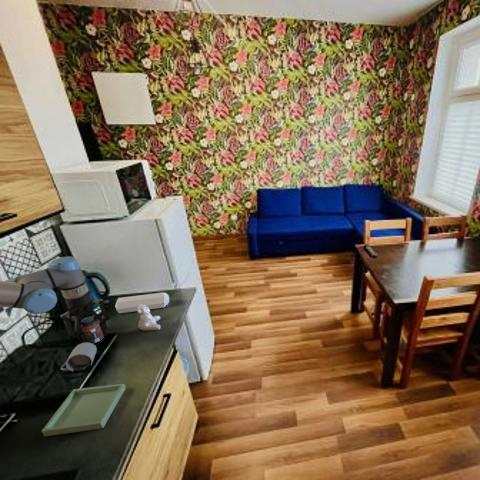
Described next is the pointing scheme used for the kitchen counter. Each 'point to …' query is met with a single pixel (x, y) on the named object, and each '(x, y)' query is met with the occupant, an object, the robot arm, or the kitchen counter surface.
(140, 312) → the sitting furry creature
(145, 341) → the kitchen counter surface
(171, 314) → the kitchen counter surface
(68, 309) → the robot arm
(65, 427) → the bottle tray
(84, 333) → the supplement bottle
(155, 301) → the white rounded cylinder
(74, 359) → the ceramic mug
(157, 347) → the kitchen counter surface
